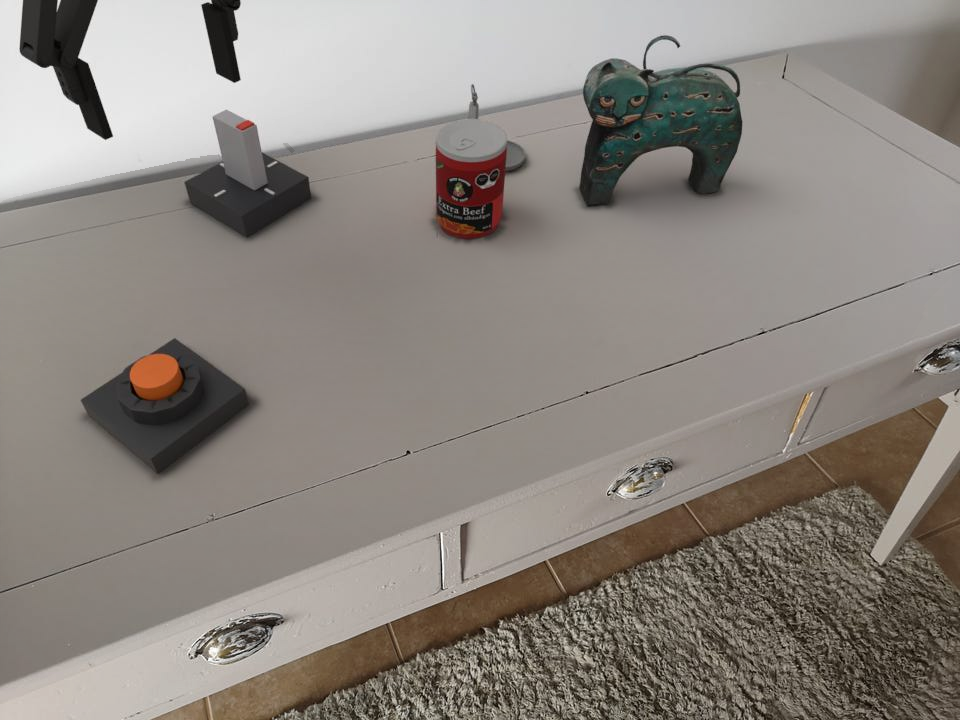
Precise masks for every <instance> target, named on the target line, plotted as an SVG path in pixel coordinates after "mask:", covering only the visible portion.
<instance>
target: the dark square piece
mask: <svg viewBox="0 0 960 720" xmlns="http://www.w3.org/2000/svg"><path fill="white" fill-rule="evenodd" d="M153 354H166V355H169V356H171V357H173V358H174V359H175V360H176V361H177V363H178V365H179V368H180V371H181V374H182V376H183V382H182V385H181V387H180V389H179V390H178V391H177V392H176V393H175V394H173V395H172V396H170V397H168V398H165V399H161V400H158V401H149V400H145V399H143V398H141V397H140V396H138V395H137V393H136V391H135V389H134V387H133V384H132V382H131V380H130V371H131V369H132V367H133V365H134V364H135V363H136V362H137V361H139V360H140V359H142V358H144V357H146V356H149V355H153ZM80 402H81V404H82V406H83V408H84V409H85V411H86V413H87V416H89V418H91V419H92V420H93V421H94V422H95V423H96V424H98V425H99V426H100V427H101V428H102V429H104V430H105V431H106V432H107V433H108V434H110V435H111V436H112V437H114V439H115V440H117V441H118V442H119V443H121V445H123V446H124V447H125V448H126V449H127V450H129V451H130V452H131V453H132V454H133V455H134V456H136V457H137V458H138V459H139V460H141V462H143V463H144V464H145V465H146V466H147V467H149V468H150V469H151V470H152V471H154V472H155V473H156V474H157V475H158V474H160V473H162V472H163V470H165V469H166V468H168V467H169V466H170V465H171V464H173V463H174V462H175V461H177V460H178V459H179V458H181V457H182V456H183V455H185V454H186V453H187V452H188V451H190V450H191V449H192V448H194V447H195V446H197V444H199V443H200V442H202V441H203V440H204V439H206V438H207V437H208V436H209V435H211V434H212V433H214V432H215V431H216V430H217V429H219V428H220V427H221V426H222V425H224V424H226V423H227V422H228V421H229V420H231V419H232V418H233V417H234V416H236V415H237V414H238V413H240V412H241V411H243V409H245V408H246V407H247V406H249V405H250V402H249V398H248V395H247V391H246V388H244V387H243V386H242V385H241V384H239V383H237V382H236V381H235V380H234V379H232V378H231V377H230V376H228V375H226V374H225V373H224V372H223V371H222V370H220V369H219V368H217V367H216V366H215V365H213V364H212V363H210V362H209V361H207V360H206V359H205V358H203V357H202V356H200V355H199V354H198V353H196V352H195V351H194V350H192V348H189V347H188V346H187V345H185V344H184V343H182V342H181V341H179V340H178V339H177V338H176V337H174V338H173V339H171V340H169V341H168V342H166V343H164V344H163V345H162V346H160V347H159V348H157V349H156V350H154V351H153V352H151V353H150V354H148V355H144V356H141V357H140V358H139V359H137V360H135V361H134V362H132V363H131V364H129V365H128V366H127V367H125V368H123V371H122V372H121V373H119V374H118V375H115V376H114V377H112V378H111V379H110V380H108V381H107V382H105V383H104V384H102V385H101V386H99V387H98V388H96V389H94V390H93V391H91V392H90V393H89V394H87V395H85V396H84V397H83V398H80Z"/></svg>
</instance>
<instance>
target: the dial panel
mask: <svg viewBox="0 0 960 720" xmlns="http://www.w3.org/2000/svg"><path fill="white" fill-rule="evenodd" d="M262 156H263V161H264V167H265V172H266V177H267V182H268V183H267V184H265V185H264V186H262V187H260V188H258V189H257V190H253V189H251V188H249V187H247V186H246V185H244V184H242V183H240V182H239V181H237V180H235V179H233V178H232V177H230V176H228V175H226V172H225V168H224V164H223V161H221V162H219V163H217V164H215V165H213V166H211V167H209V168H207V169H205V170H204V171H201V172H200V173H198V174H196V175H194V176H193V177H190V178H189V179H187V180H185V181H184V185H185V190H186V193H187V197H188V200H189V203H190V204H191V205H193V206H194V207H196V208H198V209H199V210H200V211H202V212H204V213H206V214H208V215H209V216H210V217H213V218H214V219H216V220H217V221H218V222H221V223H222V224H224V225H226V226H227V227H229V228H231V229H232V230H234V231H236V233H238V234H241V235H242V236H244V237H246V238H249V237H250V236H252V235H253V234H255V233H256V232H259V231H260V230H262V229H263V228H265V227H266V226H268V225H270V224H271V223H272V222H275V221H276V220H278V219H279V218H281V217H283V216H284V215H286V214H288V213H289V212H291V211H292V210H294V209H296V208H298V207H299V206H301V205H303V204H304V203H306V202H307V201H309V200H311V199H312V191H311V186H310V180H309V176H307V175H305V174H304V173H301V172H300V171H298V170H296V169H294V168H292V167H290V166H289V165H287V164H285V163H283V162H281V161H280V160H278V159H276V158H274V157H272V156H270V155H268V154H266V153H264V152H263V151H262Z"/></svg>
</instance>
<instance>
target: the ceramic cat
mask: <svg viewBox="0 0 960 720" xmlns="http://www.w3.org/2000/svg"><path fill="white" fill-rule="evenodd" d="M662 40H663V41H670V42H673V43H674V44H675V45H676V48H677V49H679V48H680V47H681V44H680V42H679V41H678V39H677V38H675V37H674V36H671V35H666V34H664V35H659V36H657V37H655V38H653V39H651V40H650V41H649V42H648V43H647V45H646V47H645V51H644V53H643V59H642V68H643V69H640V68H638V67H637V66H636V65H634V64H632V63H631V62H630V61H628V60H626V59H621V58H615V57H614V58H608V59H605V60H603V61H601V62H598V63H597V64H595V65H594V66H593V67H591V68H590V70H589V71H588V73H587V75H586V77H585V81H584V84H583V88H582V97H583V101H584V103H585V106H586V108H587V111H588V114H589V116H590V117H591V120H592V121H591V124H590V128H589V131H588V134H587V138H586V142H585V146H584V153H583V154H584V155H583V161H582V165H581V171H580V180H579V188H578V189H579V192H580V195H581V196H582V198H583V200H584V203H585V205H586V207H590V206H603V205H607V204H609V203H610V200H611V198H612V195H613V192H614V190H615V188H616V185H617V183H618V182H619V181H620V178H621V177H622V175H623V174H624V173H625V172H626V171H627V169H628V168H629V167H630V166H631V165H632V164H633V163H634V161H636V160H637V159H638V158H639V157H640V156H642V155H645V154H648V153H650V152H654V151H656V150H661V149H666V148H674V147H675V148H676V147H679V148H685V149H688V151H690V152H691V154H692V159H691V166H690V167H691V168H690V173H689V175H688V184H689V185H690V186H691V188H692V189H693V190H694V191H695V193H698V194H701V195H706V194H712V193H716V192H718V191H719V189H720V188H721V185H722V183H723V180H724V178H725V176H726V174H727V172H728V171H729V168H730V166H731V165H732V162H733V160H734V158H735V157H736V154H737V152H738V149H739V145H740V142H741V138H742V135H743V116H742V112H741V104H740V101H739V99H738V97H739V98H740V95H741V81H740V78H739V76H738V74H737V73H736V72H735V71H734V69H732V68H731V67H728V66H726V65H724V64H723V65H722V64H718V63H699V64H695V65H691V66H688V67H675V68H667V69H661V70H658V71H655V69H651V68H647V55H648V51H649V50H650V49H651V47H652V46H653V45H654V44H656V43H658V42H659V41H662ZM702 68H707V69H709V68H710V69H712V70H720V71H724V72H727V74H729V75H731V77H732V78H733V79H734V81H735V83H736V91H733V89H732V88H731V86H729V85H728V84H727V83H726V82H725V81H724V80H723V79H722V78H721V77H720V76H719V75H717V74H716V73H714V72H712V71H710V70H705V69H702Z"/></svg>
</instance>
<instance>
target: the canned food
mask: <svg viewBox="0 0 960 720" xmlns="http://www.w3.org/2000/svg"><path fill="white" fill-rule="evenodd" d="M507 136H508V135H507V133H506V131H505V130H504V129H503V128H502V126H500V125H499V124H496V123H494V122H493V121H489V120H486V119H481V118H478V119H468V118H462V119H457V120H453V121H451V122H448V123H446V124H445V125H443V126H442V127H441V128H439V130H438V131H437V133H436V138H435V216H436V220H437V222H438V225H439V226H440V228H441V229H442V231H444V232H445V233H447V234H448V235H450V236H453V237H456V238H459V239H478V238H482V237H485V236H487V235H489V234H491V233H492V232H494V231H495V230H496V229H497V228H498V226H499V224H500V222H501V220H502V216H503V207H504V206H503V204H504V192H505V180H506V171H505V169H506V156H507V140H508V137H507Z"/></svg>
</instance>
